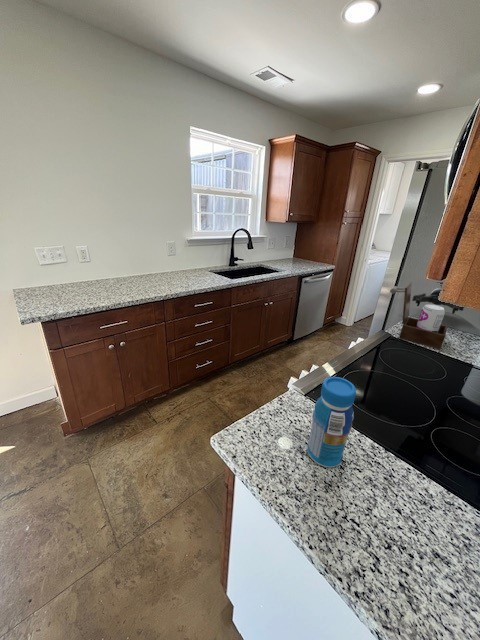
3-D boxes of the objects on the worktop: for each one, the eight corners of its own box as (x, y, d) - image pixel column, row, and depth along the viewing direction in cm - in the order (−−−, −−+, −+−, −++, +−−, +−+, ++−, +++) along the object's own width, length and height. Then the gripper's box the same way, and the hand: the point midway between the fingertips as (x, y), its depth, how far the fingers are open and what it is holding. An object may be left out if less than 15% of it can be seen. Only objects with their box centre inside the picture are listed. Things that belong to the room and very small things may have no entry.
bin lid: (411, 281, 121) (394, 281, 126) (407, 287, 112) (388, 287, 117) (408, 315, 126) (392, 314, 131) (404, 324, 117) (386, 322, 122)
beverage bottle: (299, 450, 64) (310, 383, 56) (319, 433, 69) (332, 369, 61) (329, 476, 58) (347, 405, 50) (349, 455, 63) (368, 387, 55)
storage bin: (442, 339, 121) (447, 326, 118) (440, 350, 112) (445, 335, 109) (403, 329, 129) (407, 316, 127) (398, 338, 120) (402, 324, 118)
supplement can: (416, 340, 117) (427, 309, 111) (411, 332, 124) (420, 302, 118) (437, 343, 115) (449, 311, 109) (430, 335, 123) (441, 305, 116)
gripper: (467, 309, 131) (467, 322, 115) (409, 297, 145) (402, 308, 129) (472, 294, 128) (473, 306, 112) (413, 284, 142) (407, 293, 126)
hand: (435, 307), depth 121 cm, fingers open, 13 cm apart
